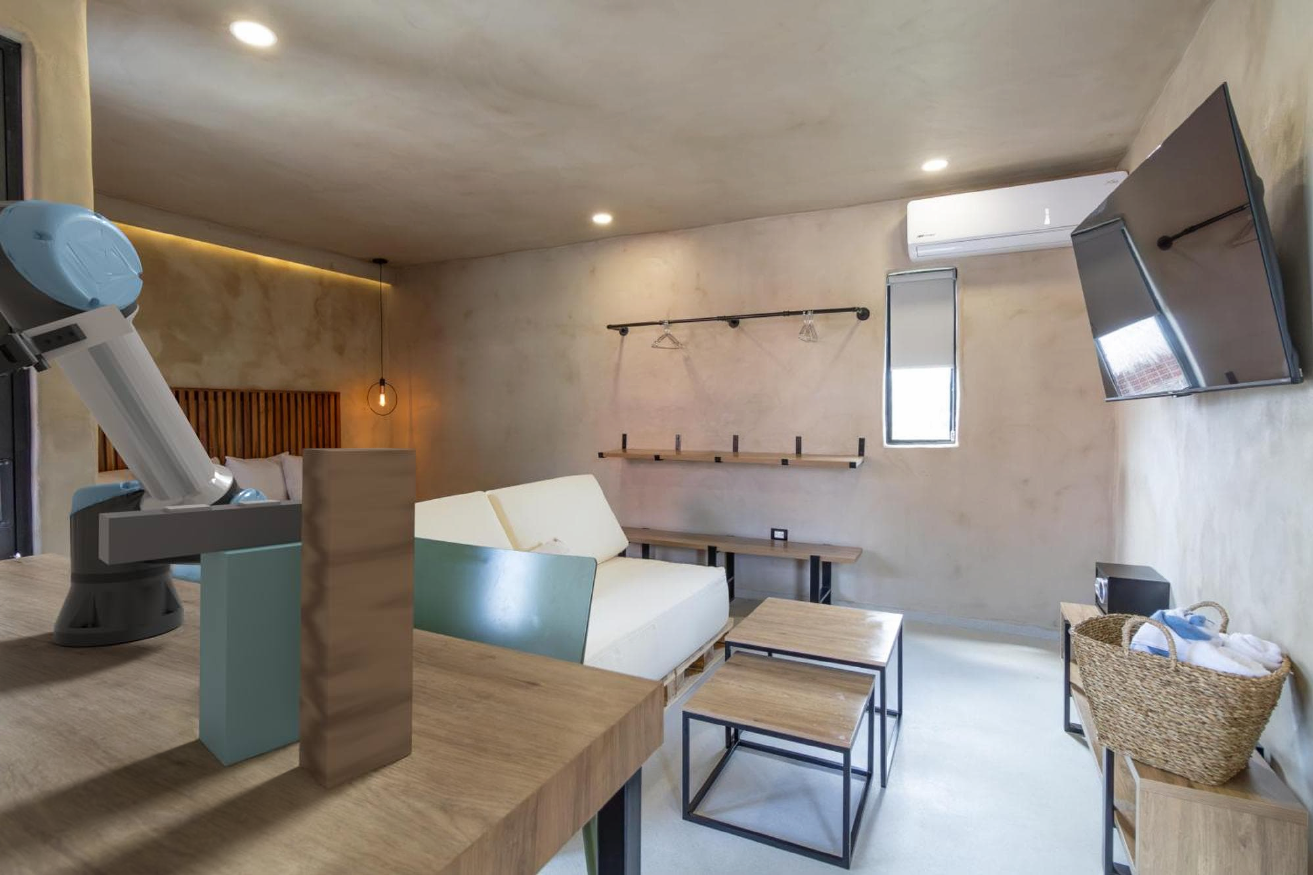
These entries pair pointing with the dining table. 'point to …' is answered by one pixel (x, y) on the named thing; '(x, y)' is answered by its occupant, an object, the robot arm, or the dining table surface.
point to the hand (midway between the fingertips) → (107, 324)
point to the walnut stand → (356, 610)
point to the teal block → (250, 650)
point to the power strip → (197, 529)
